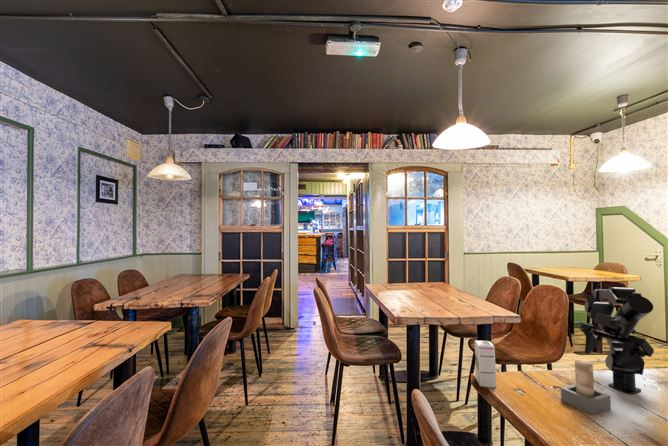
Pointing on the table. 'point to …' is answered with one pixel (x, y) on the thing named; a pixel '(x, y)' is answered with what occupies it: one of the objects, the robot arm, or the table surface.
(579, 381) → the wooden peg
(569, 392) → the square sleeve socket
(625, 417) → the table surface
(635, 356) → the robot arm
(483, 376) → the syrup box
